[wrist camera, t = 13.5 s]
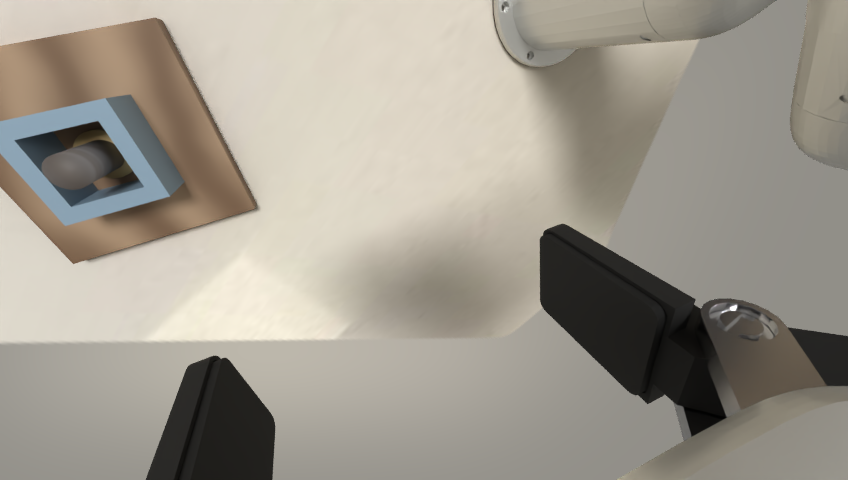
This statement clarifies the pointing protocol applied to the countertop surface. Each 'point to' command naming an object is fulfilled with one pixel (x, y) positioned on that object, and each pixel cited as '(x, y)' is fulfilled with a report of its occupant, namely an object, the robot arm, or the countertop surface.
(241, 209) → the post board
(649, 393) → the robot arm
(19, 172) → the slate ring
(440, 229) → the countertop surface
